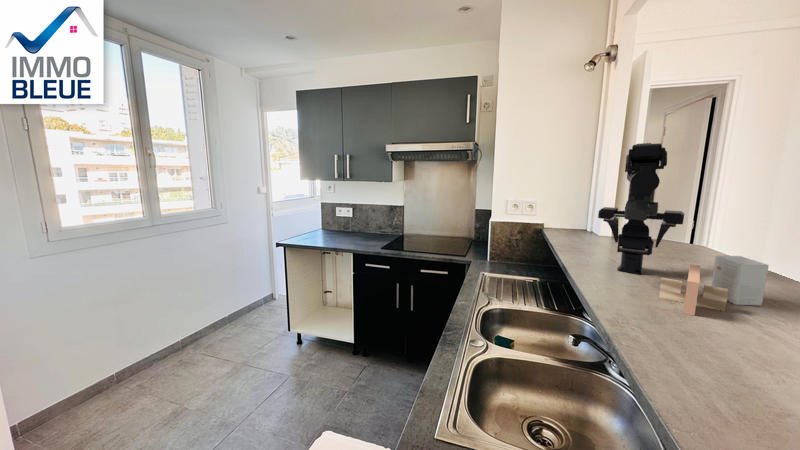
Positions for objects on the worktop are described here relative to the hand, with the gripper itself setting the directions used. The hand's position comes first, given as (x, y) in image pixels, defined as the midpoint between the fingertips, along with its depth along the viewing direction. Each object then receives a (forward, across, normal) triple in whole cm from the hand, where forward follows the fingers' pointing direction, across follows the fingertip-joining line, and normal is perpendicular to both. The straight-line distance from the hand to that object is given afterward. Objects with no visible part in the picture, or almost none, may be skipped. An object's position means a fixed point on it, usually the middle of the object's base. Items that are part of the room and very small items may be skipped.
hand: (635, 244), depth 88 cm
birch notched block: (+12, +13, -6) cm, 19 cm away
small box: (+12, +21, +4) cm, 24 cm away
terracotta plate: (+12, +13, -6) cm, 19 cm away
